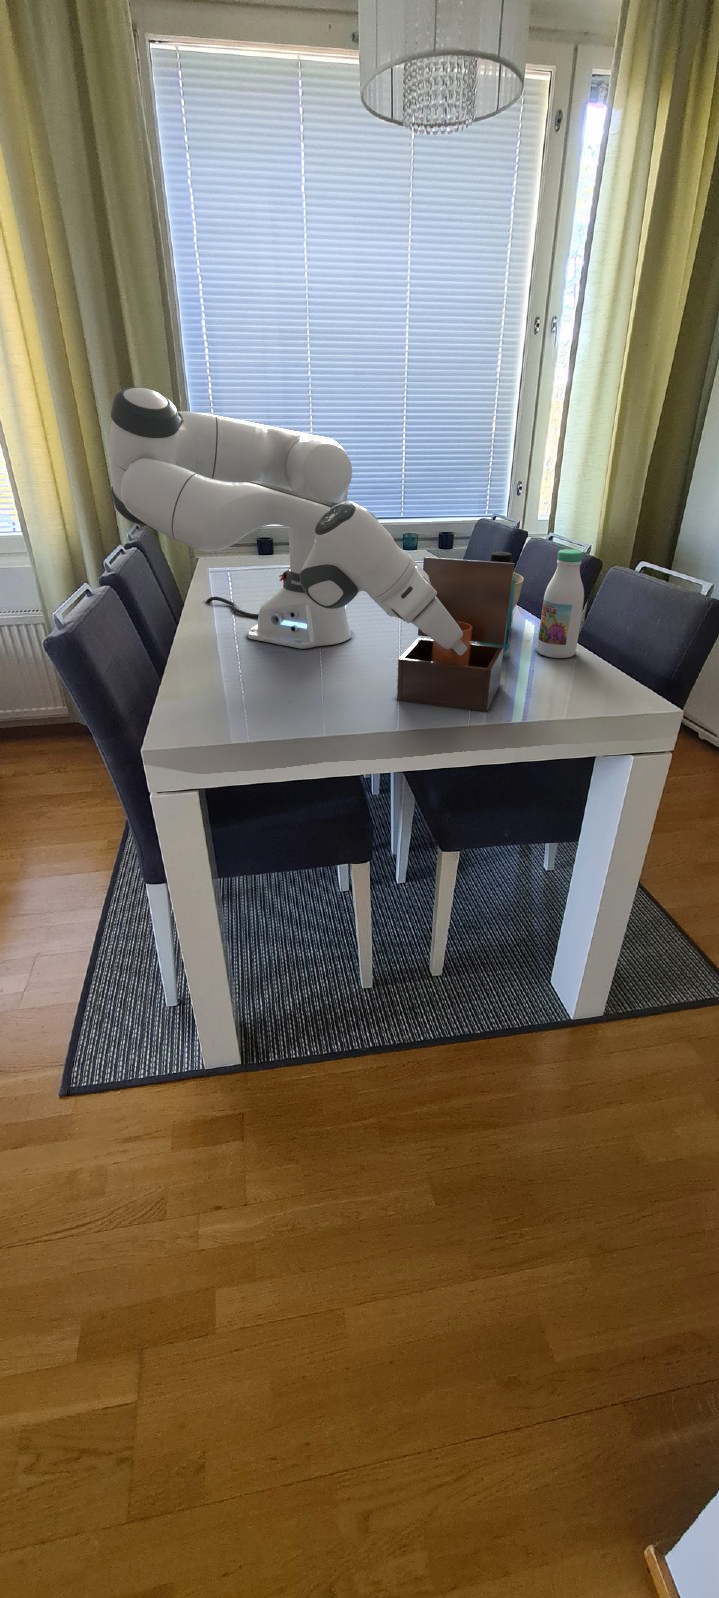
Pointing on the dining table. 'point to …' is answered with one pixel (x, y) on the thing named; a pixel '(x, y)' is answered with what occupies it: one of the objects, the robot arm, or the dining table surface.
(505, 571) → the lid
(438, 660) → the cup
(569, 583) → the milk bottle
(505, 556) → the beverage bottle
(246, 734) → the dining table surface
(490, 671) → the box
